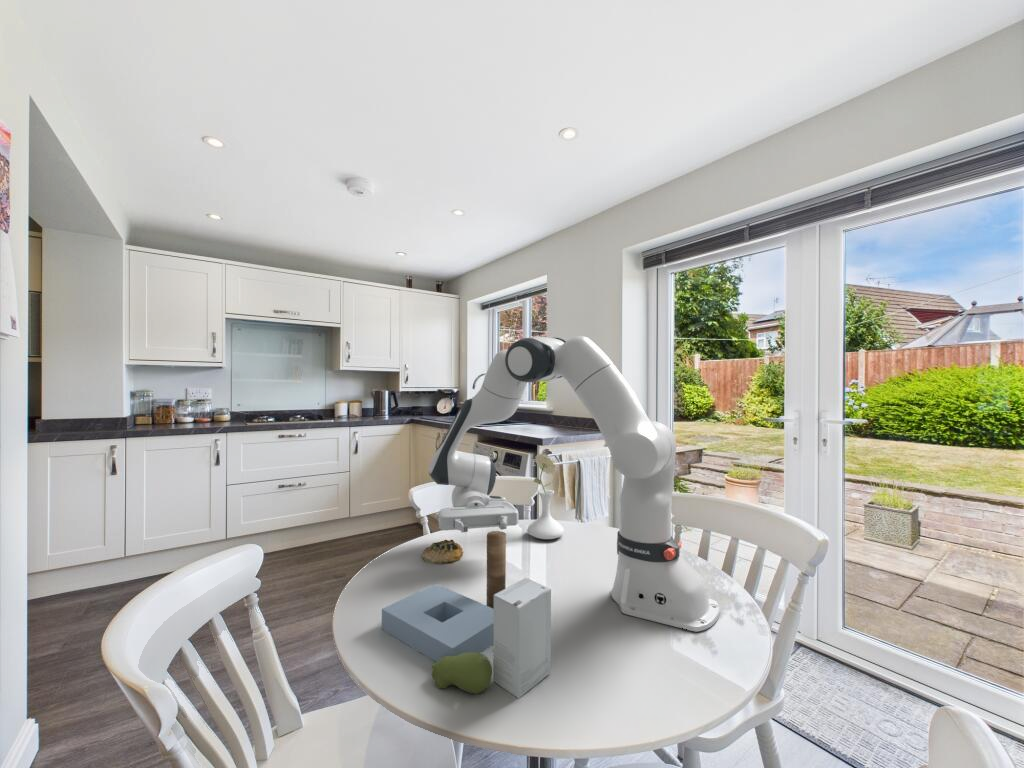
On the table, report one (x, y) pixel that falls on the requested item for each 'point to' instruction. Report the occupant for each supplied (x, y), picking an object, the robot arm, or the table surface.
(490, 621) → the socket board
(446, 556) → the bread roll
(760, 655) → the table surface
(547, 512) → the flower in vase
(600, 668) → the table surface
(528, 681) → the skincare box
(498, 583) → the peg
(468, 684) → the pear
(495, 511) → the robot arm
